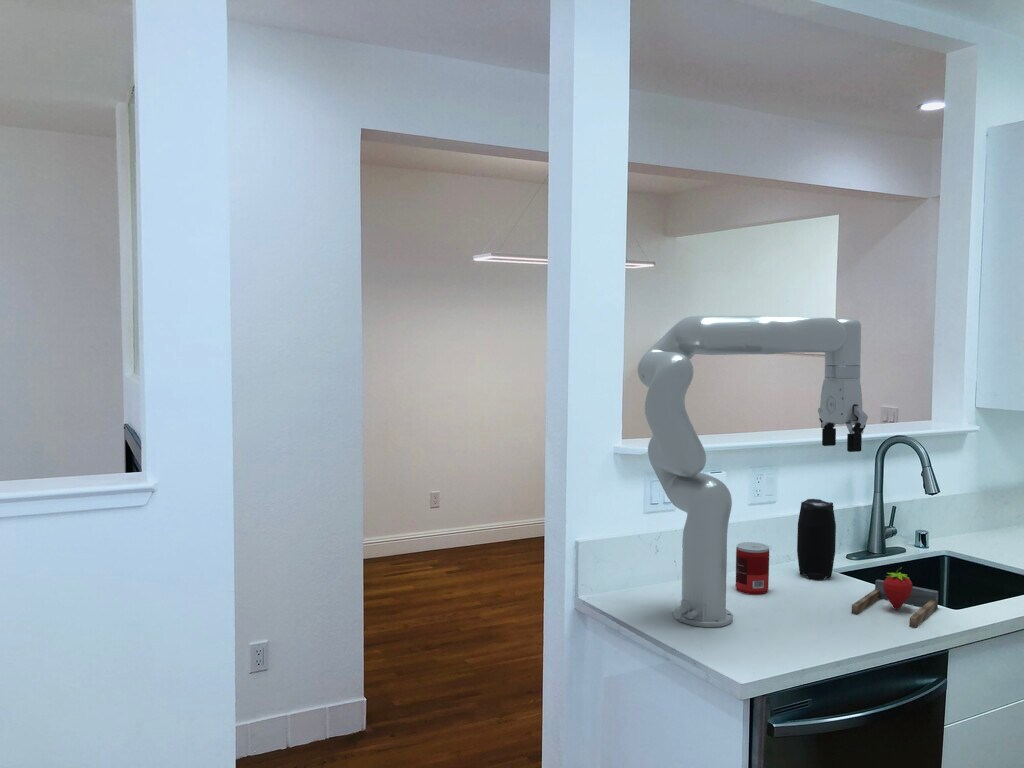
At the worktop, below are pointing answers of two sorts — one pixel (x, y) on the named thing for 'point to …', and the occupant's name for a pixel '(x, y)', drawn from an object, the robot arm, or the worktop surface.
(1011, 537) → the worktop surface
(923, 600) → the frame
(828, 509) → the portable speaker
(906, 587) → the strawberry
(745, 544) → the canned food
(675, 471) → the robot arm
